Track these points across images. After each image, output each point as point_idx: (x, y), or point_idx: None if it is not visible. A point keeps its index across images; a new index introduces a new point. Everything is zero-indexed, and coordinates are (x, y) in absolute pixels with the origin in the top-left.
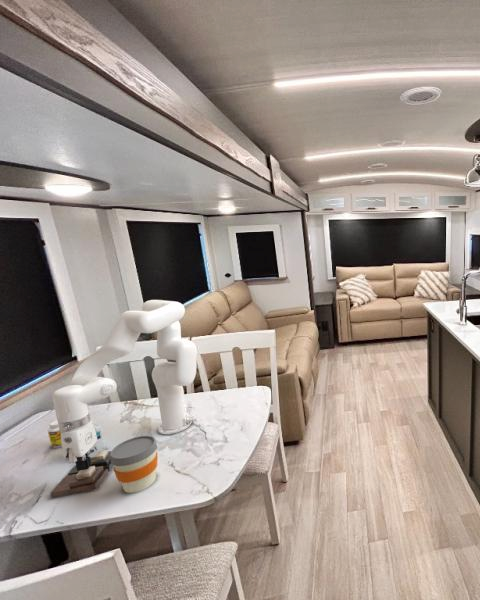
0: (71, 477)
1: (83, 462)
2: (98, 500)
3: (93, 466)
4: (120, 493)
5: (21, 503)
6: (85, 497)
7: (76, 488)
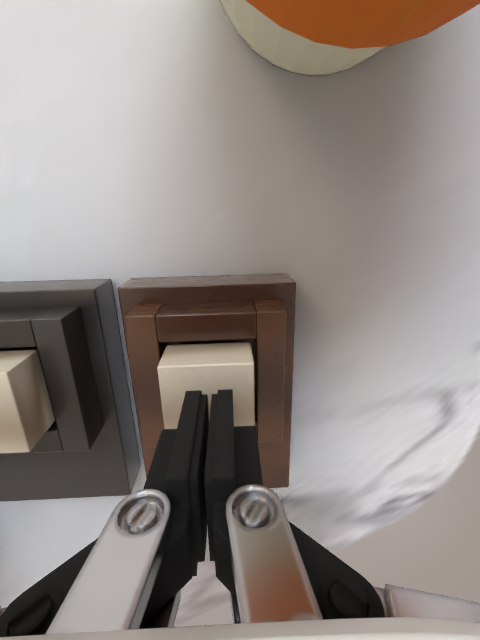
0: None
1: (253, 475)
2: (404, 206)
3: (166, 372)
4: (394, 72)
5: None
6: (339, 301)
7: (290, 380)
